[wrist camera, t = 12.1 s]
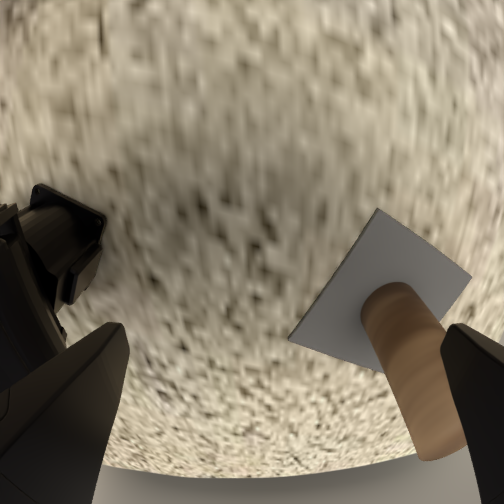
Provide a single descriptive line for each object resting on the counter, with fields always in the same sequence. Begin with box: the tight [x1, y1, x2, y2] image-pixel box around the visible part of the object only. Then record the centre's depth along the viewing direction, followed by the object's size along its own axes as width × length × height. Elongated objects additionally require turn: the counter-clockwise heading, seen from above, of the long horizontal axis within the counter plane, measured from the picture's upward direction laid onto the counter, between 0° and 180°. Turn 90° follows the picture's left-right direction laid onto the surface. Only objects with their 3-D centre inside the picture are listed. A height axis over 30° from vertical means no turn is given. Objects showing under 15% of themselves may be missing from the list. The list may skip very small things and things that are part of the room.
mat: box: [288, 208, 472, 374], centre depth 23 cm, size 12×12×1 cm
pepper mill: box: [360, 282, 467, 461], centre depth 17 cm, size 5×5×12 cm
